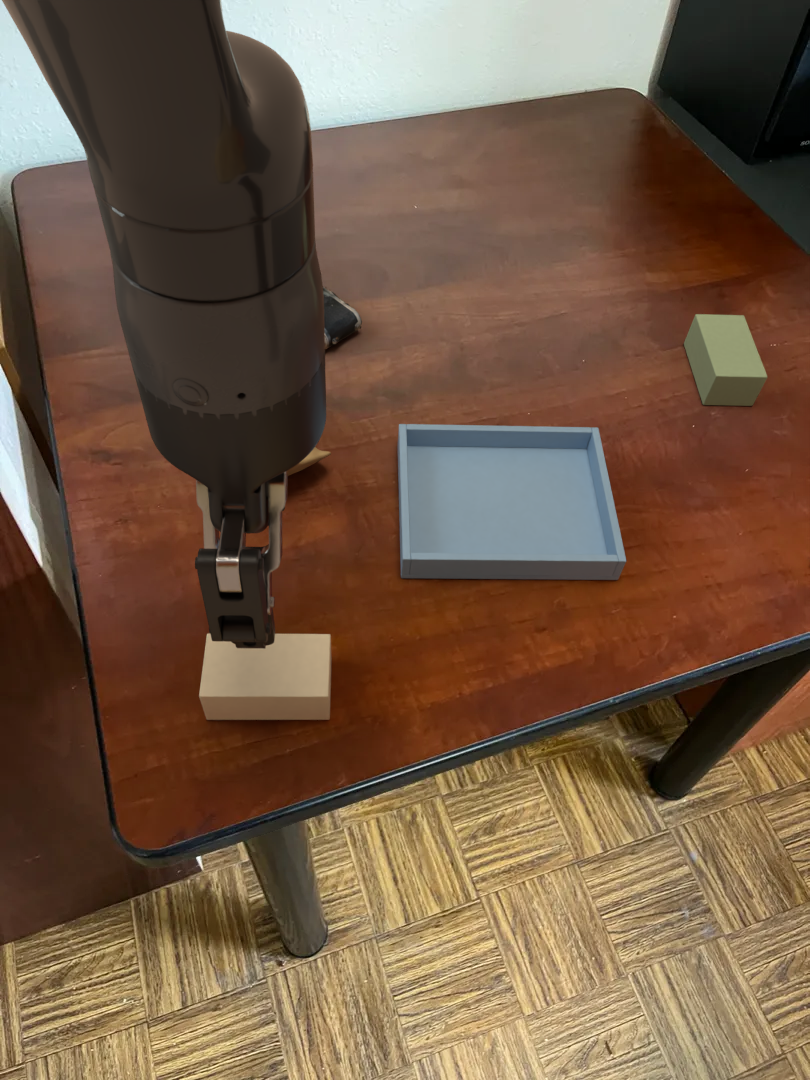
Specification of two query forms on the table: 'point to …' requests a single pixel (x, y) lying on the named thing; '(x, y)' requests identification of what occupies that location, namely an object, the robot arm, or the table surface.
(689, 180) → the table surface
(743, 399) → the pad
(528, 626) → the table surface
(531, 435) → the blue tray
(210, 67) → the robot arm
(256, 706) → the pad
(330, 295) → the camera
